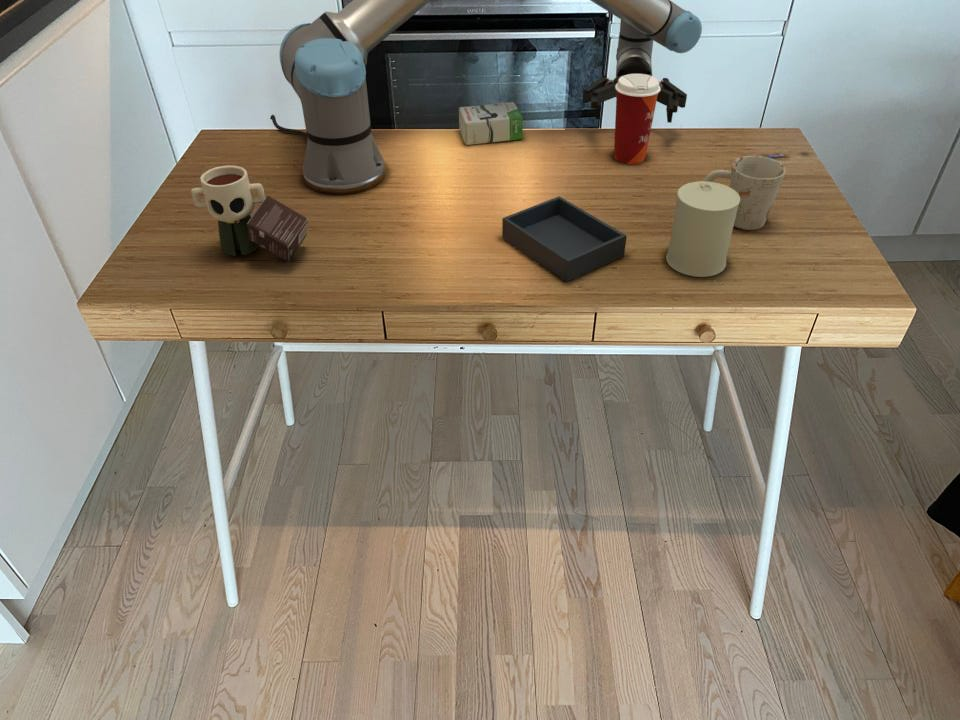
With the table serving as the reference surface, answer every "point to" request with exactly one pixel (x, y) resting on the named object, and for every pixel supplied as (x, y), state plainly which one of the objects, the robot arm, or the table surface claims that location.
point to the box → (277, 228)
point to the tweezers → (776, 155)
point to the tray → (563, 238)
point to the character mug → (230, 205)
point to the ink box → (490, 123)
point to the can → (702, 228)
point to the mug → (753, 188)
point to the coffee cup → (634, 116)
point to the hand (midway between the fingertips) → (634, 114)
